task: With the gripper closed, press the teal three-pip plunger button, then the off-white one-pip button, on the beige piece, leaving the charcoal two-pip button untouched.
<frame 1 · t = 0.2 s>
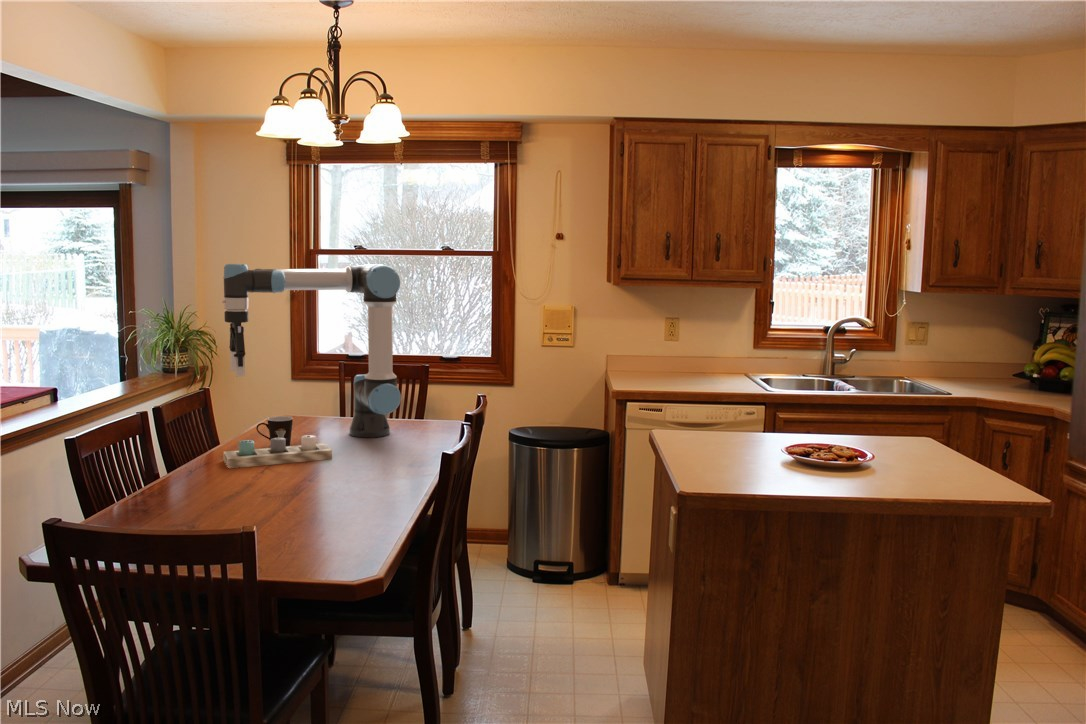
hand: (237, 373, 285), 28 cm above the table, fingers open, 13 cm apart
button 3: (246, 448, 276), point 5 cm above the table, slide at 0.0 cm
button 1: (308, 442, 285), point 5 cm above the table, slide at 0.0 cm
coffee mug: (276, 446, 300), on the table
button 2: (278, 445, 281), point 5 cm above the table, slide at 0.0 cm
beige piece: (278, 459, 281), on the table
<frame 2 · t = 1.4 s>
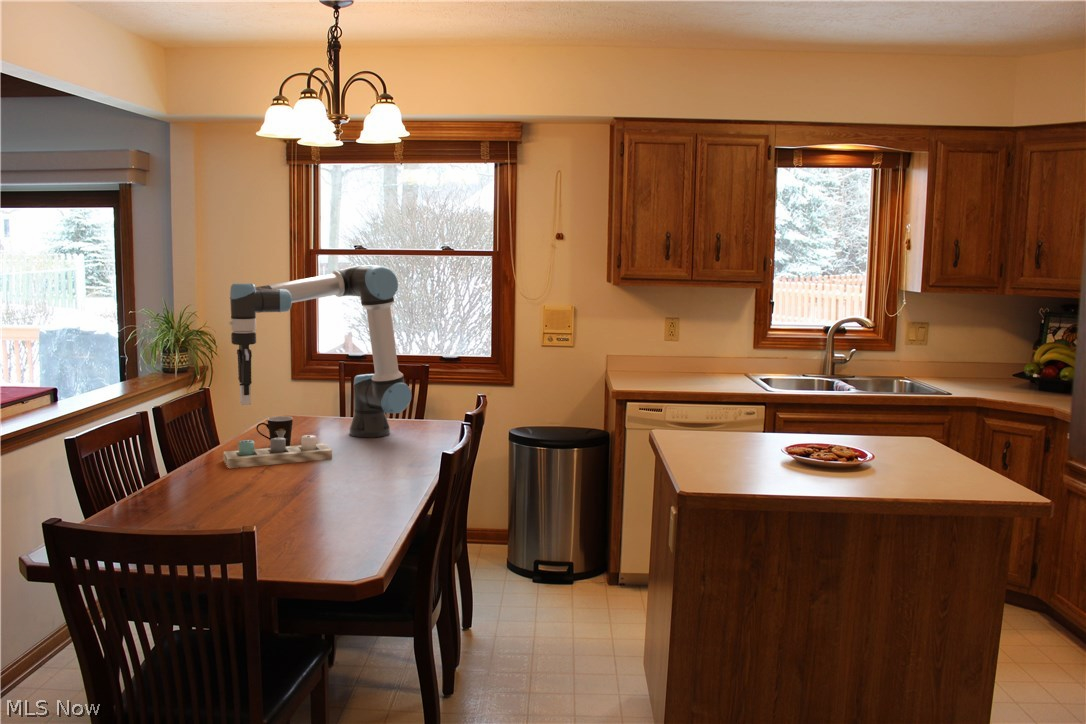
hand: (245, 403, 274), 20 cm above the table, fingers open, 3 cm apart
nothing on the table moved.
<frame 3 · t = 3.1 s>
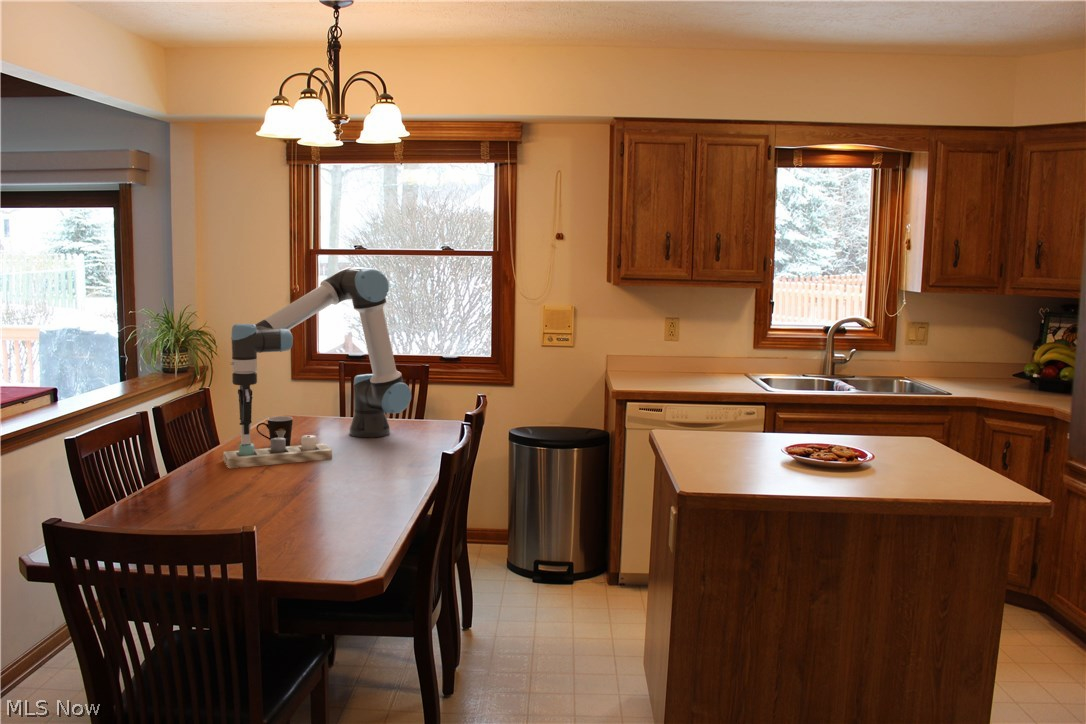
hand: (246, 443, 276), 6 cm above the table, fingers closed
button 3: (246, 451, 276), point 4 cm above the table, slide at 1.1 cm, touching gripper
everything else where it was.
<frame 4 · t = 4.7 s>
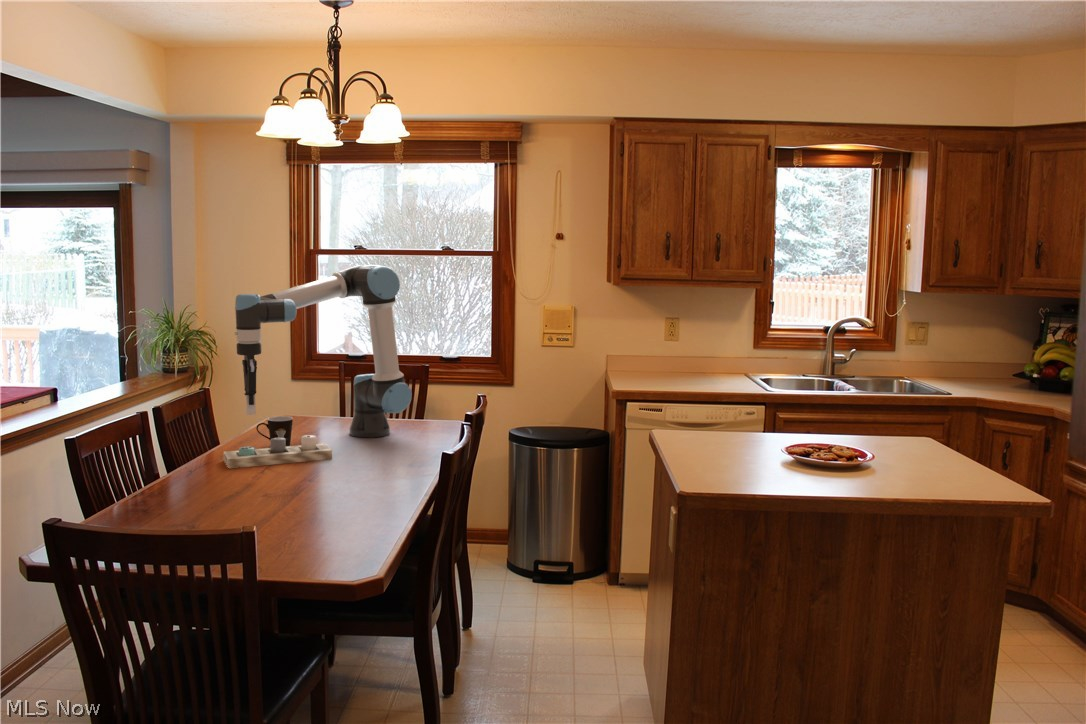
hand: (251, 414, 275), 16 cm above the table, fingers closed
button 3: (246, 454, 276), point 3 cm above the table, slide at 2.2 cm
everything else where it was.
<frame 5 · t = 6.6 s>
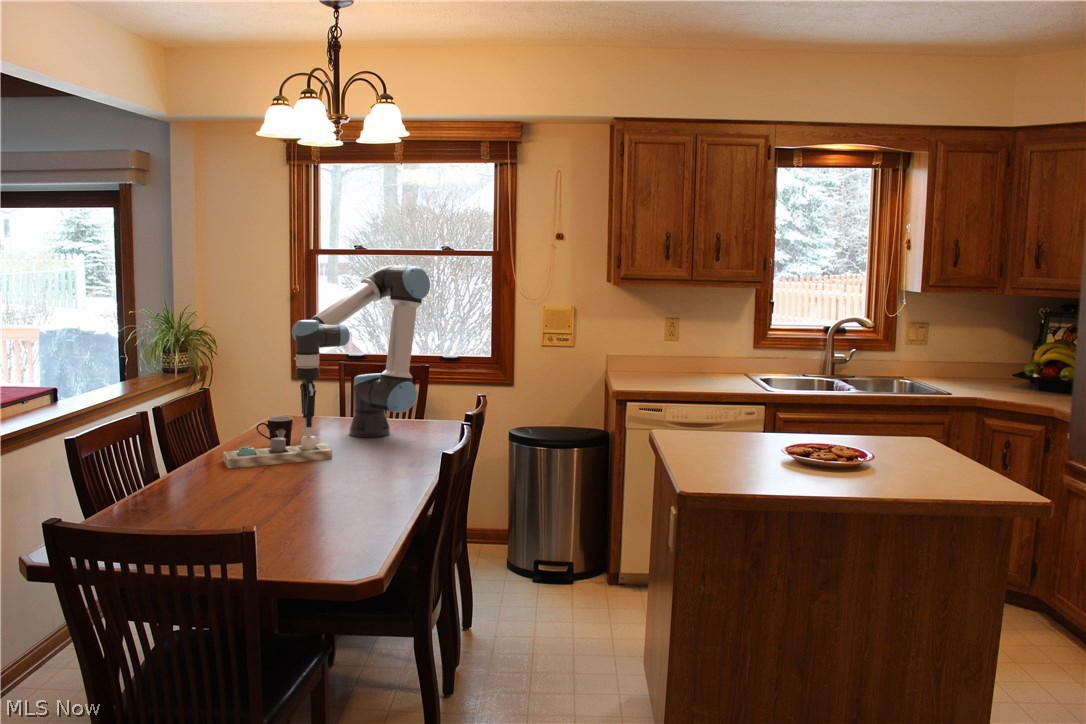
hand: (308, 436, 285), 7 cm above the table, fingers closed
button 1: (308, 443, 285), point 5 cm above the table, slide at 0.2 cm, touching gripper
everything else where it was.
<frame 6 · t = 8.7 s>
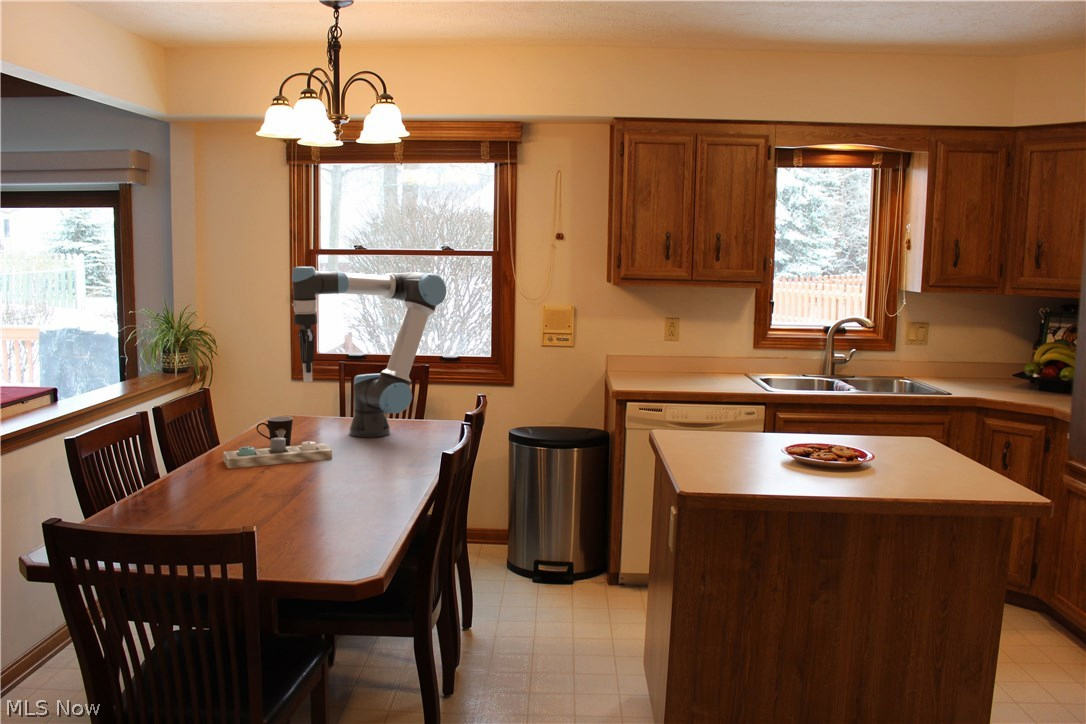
hand: (308, 381, 289), 25 cm above the table, fingers closed
button 1: (308, 449, 285), point 3 cm above the table, slide at 2.2 cm
everything else where it was.
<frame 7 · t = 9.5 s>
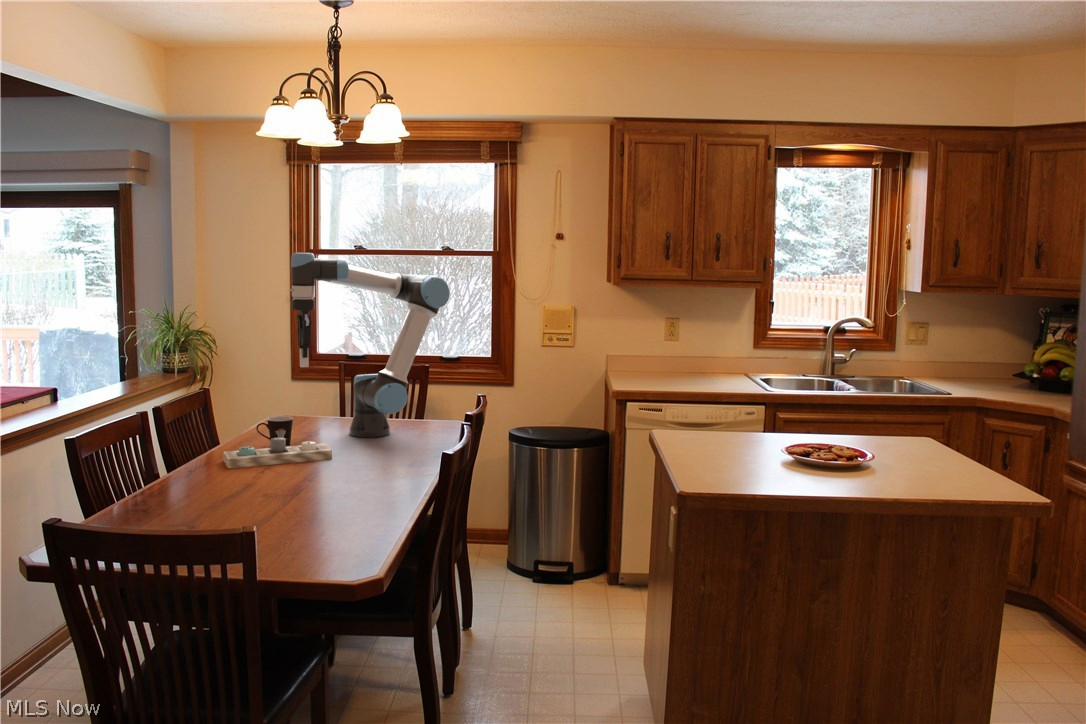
hand: (304, 366, 291), 29 cm above the table, fingers closed
nothing on the table moved.
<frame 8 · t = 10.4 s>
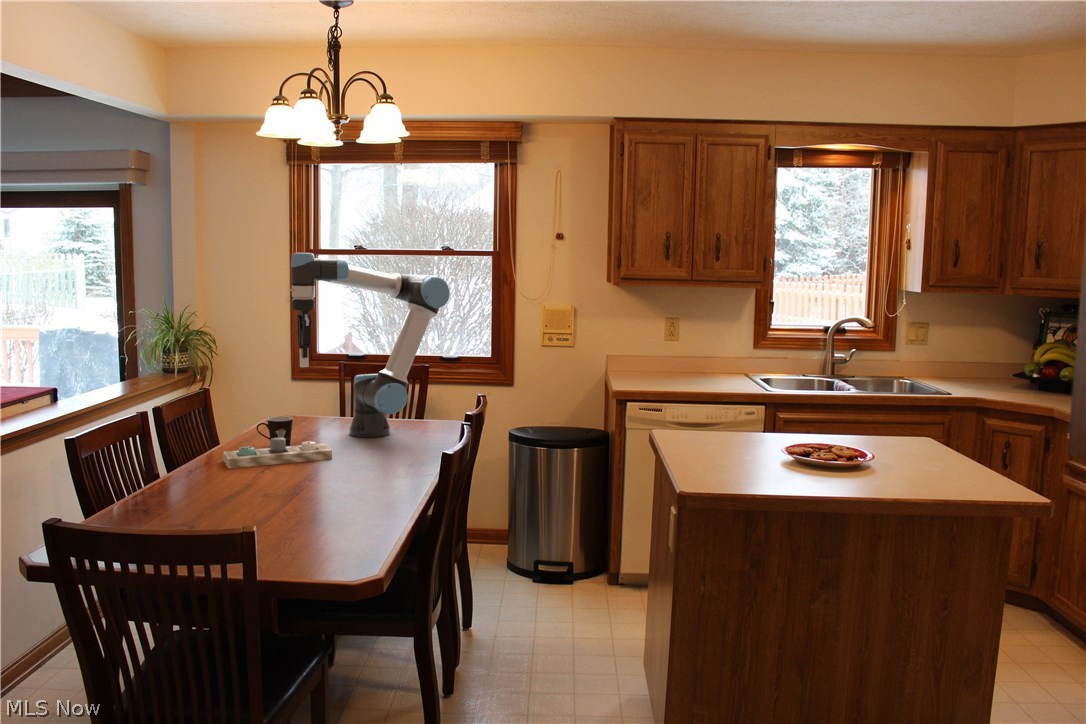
hand: (304, 366, 291), 29 cm above the table, fingers closed
nothing on the table moved.
at the end: button 3 slide at 2.2 cm; button 1 slide at 2.2 cm; button 2 slide at 0.0 cm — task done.
